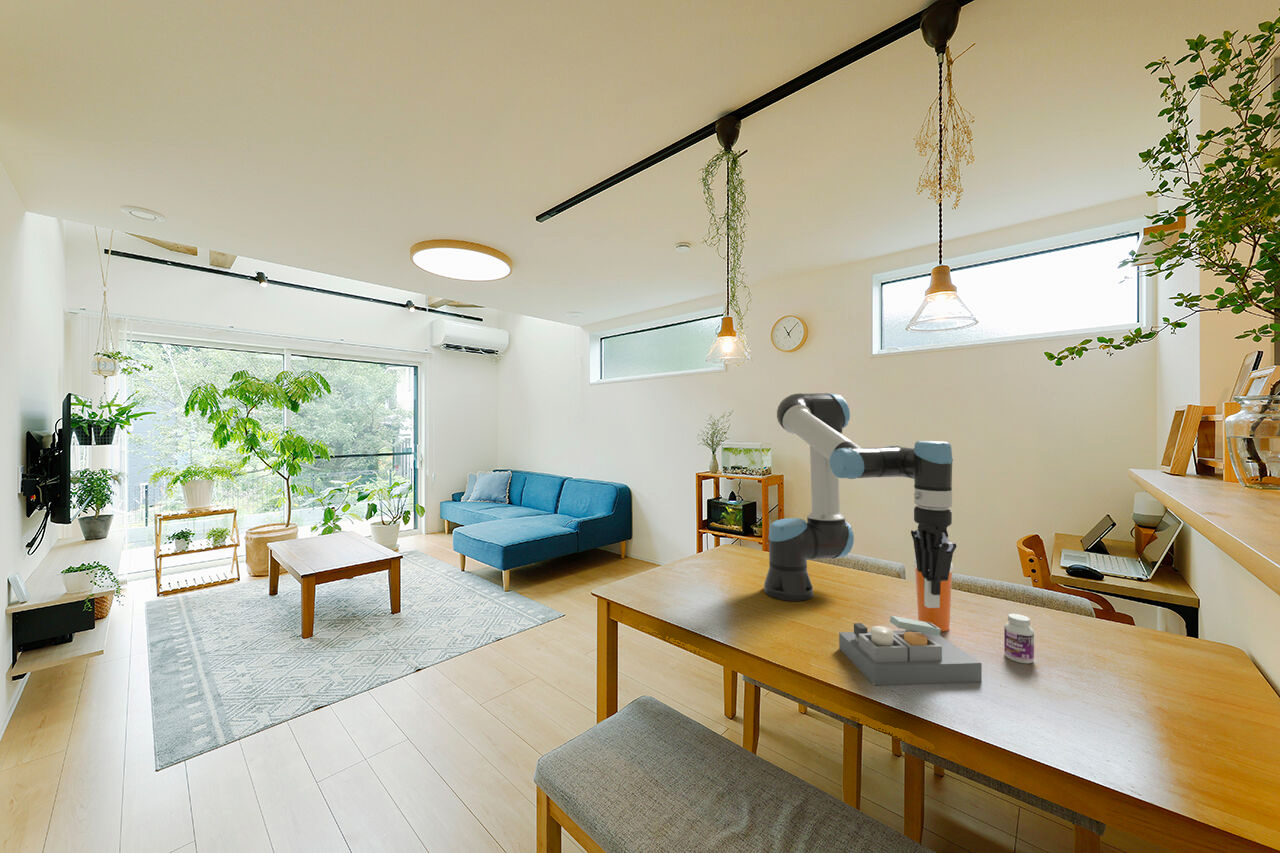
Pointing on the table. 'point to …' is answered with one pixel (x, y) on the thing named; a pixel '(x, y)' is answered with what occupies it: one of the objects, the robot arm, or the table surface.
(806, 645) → the table surface
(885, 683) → the panel
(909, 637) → the button
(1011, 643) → the pill bottle
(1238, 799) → the table surface
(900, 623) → the block
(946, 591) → the shaker bottle
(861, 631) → the slider
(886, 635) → the button
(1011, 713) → the table surface
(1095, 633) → the table surface
